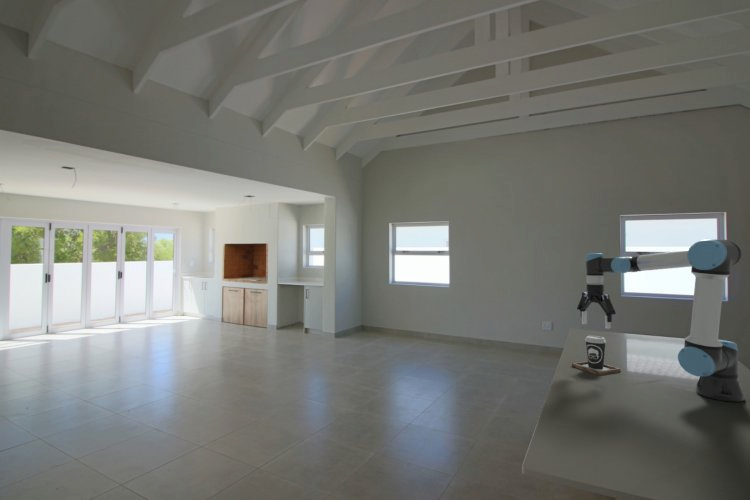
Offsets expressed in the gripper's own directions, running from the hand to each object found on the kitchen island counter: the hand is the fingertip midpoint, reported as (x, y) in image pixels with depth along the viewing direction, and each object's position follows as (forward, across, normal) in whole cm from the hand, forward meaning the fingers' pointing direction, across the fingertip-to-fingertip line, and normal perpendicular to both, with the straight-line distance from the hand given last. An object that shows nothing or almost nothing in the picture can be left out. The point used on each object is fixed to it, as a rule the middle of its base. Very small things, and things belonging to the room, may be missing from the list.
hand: (595, 326), depth 198 cm
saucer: (+21, 0, 0) cm, 21 cm away
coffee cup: (+21, 0, 0) cm, 21 cm away
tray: (+23, 0, 0) cm, 23 cm away
